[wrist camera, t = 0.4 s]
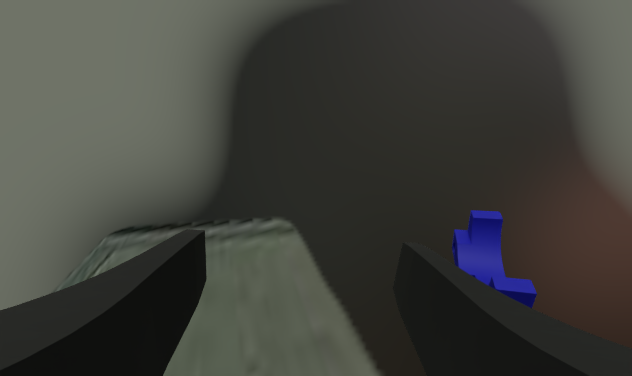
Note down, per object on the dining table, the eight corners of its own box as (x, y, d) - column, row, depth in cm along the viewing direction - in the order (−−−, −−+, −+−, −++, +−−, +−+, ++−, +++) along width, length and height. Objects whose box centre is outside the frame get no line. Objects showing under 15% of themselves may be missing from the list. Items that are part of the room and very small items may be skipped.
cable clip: (451, 247, 38) (457, 209, 36) (490, 251, 37) (499, 211, 34) (467, 330, 29) (476, 287, 26) (520, 338, 27) (536, 293, 24)
